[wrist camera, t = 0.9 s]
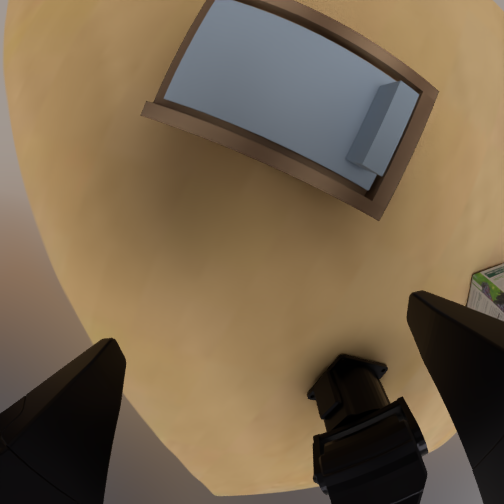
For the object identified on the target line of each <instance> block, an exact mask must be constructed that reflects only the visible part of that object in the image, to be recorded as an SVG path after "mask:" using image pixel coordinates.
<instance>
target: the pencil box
mask: <svg viewBox="0 0 504 504" xmlns="http://www.w3.org/2000/svg"><path fill="white" fill-rule="evenodd" d="M214 1H215V0H206V2H205V3H204V5H203V7H202V8H201V10H200V12H199V13H198V15H197V17H196V18H195V20H194V22H193V23H192V25H191V27H190V29H189V31H188V32H187V34H186V36H185V38H184V40H183V42H182V43H181V45H180V47H179V49H178V51H177V53H176V55H175V57H174V59H173V61H172V63H171V65H170V67H169V69H168V71H167V73H166V75H165V78H164V80H163V82H162V84H161V86H160V88H159V91H158V93H157V95H156V98H155V100H154V102H153V103H151V102H148V101H146V103H145V105H144V108H143V110H142V113H141V116H144V117H147V118H150V119H153V120H156V121H159V122H161V123H164V124H167V125H170V126H173V127H176V128H178V129H181V130H184V131H186V132H189V133H192V134H194V135H197V136H200V137H202V138H205V139H207V140H210V141H213V142H215V143H218V144H220V145H222V146H225V147H227V148H230V149H232V150H235V151H237V152H239V153H242V154H244V155H246V156H249V157H251V158H253V159H256V160H258V161H260V162H262V163H265V164H267V165H269V166H271V167H274V168H276V169H278V170H280V171H282V172H284V173H287V174H289V175H291V176H293V177H295V178H297V179H299V180H301V181H303V182H305V183H307V184H310V185H312V186H314V187H316V188H318V189H320V190H322V191H324V192H326V193H328V194H329V195H331V196H333V197H335V198H337V199H339V200H341V201H343V202H345V203H347V204H349V205H351V206H352V207H354V208H356V209H358V210H360V211H362V212H363V213H365V214H367V215H369V216H371V217H373V218H374V219H376V220H378V221H379V220H380V219H381V217H382V215H383V213H384V211H385V209H386V207H387V205H388V203H389V202H390V200H391V198H392V196H393V194H394V192H395V190H396V188H397V186H398V184H399V182H400V180H401V178H402V176H403V174H404V172H405V170H406V167H407V165H408V163H409V161H410V159H411V157H412V155H413V152H414V150H415V148H416V146H417V144H418V141H419V139H420V137H421V134H422V132H423V130H424V128H425V125H426V123H427V120H428V118H429V116H430V113H431V111H432V108H433V106H434V103H435V100H436V98H437V95H438V93H439V91H438V90H437V89H436V88H435V87H433V86H432V85H431V84H430V83H429V82H427V81H426V80H425V79H424V78H423V77H421V76H420V75H419V74H418V73H416V72H415V71H414V70H412V69H411V68H410V67H408V66H407V65H406V64H404V63H403V62H402V61H400V60H399V59H398V58H396V57H395V56H393V55H392V54H390V53H389V52H388V51H386V50H385V49H383V48H382V47H380V46H379V45H377V44H375V43H374V42H372V41H371V40H369V39H367V38H366V37H364V36H363V35H361V34H359V33H358V32H356V31H354V30H352V29H351V28H349V27H347V26H345V25H343V24H342V23H340V22H338V21H336V20H334V19H332V18H330V17H328V16H326V15H324V14H322V13H320V12H318V11H316V10H314V9H312V8H310V7H307V6H305V5H303V4H301V3H298V2H296V1H294V0H234V1H237V2H240V3H243V4H246V5H249V6H252V7H255V8H258V9H260V10H263V11H266V12H268V13H271V14H274V15H276V16H279V17H281V18H283V19H286V20H288V21H291V22H293V23H295V24H297V25H300V26H302V27H304V28H306V29H308V30H310V31H312V32H314V33H317V34H319V35H321V36H323V37H324V38H326V39H328V40H330V41H332V42H334V43H336V44H338V45H339V46H341V47H343V48H345V49H347V50H348V51H350V52H352V53H354V54H355V55H357V56H359V57H360V58H362V59H363V60H365V61H367V62H368V63H370V64H371V65H373V66H375V67H376V68H378V69H379V70H381V71H382V72H384V73H385V74H387V75H388V76H389V77H391V78H392V79H394V80H395V81H402V82H404V83H405V84H406V85H408V86H409V87H410V88H412V89H413V90H414V91H415V92H417V93H418V94H419V97H418V99H417V101H416V104H415V106H414V109H413V111H412V113H411V116H410V118H409V120H408V123H407V125H406V127H405V129H404V132H403V134H402V136H401V138H400V140H399V143H398V145H397V147H396V149H395V151H394V153H393V155H392V157H391V160H390V162H389V164H388V166H387V168H386V170H385V172H384V174H383V176H380V175H376V177H375V179H374V181H373V183H372V185H371V187H370V189H369V191H368V190H366V189H364V188H362V187H361V186H359V185H357V184H355V183H353V182H352V181H350V180H348V179H346V178H344V177H343V176H341V175H339V174H337V173H335V172H333V171H332V170H330V169H328V168H326V167H324V166H322V165H320V164H318V163H316V162H314V161H312V160H310V159H308V158H306V157H304V156H302V155H300V154H298V153H296V152H294V151H292V150H290V149H288V148H286V147H284V146H281V145H279V144H277V143H275V142H273V141H271V140H268V139H266V138H264V137H262V136H259V135H257V134H255V133H253V132H250V131H248V130H246V129H243V128H241V127H238V126H236V125H234V124H231V123H229V122H226V121H224V120H221V119H219V118H216V117H213V116H211V115H208V114H206V113H203V112H200V111H197V110H195V109H192V108H189V107H186V106H183V105H181V104H178V103H175V102H172V101H169V100H166V99H164V96H165V94H166V92H167V89H168V87H169V85H170V83H171V81H172V79H173V76H174V74H175V72H176V70H177V68H178V66H179V64H180V62H181V60H182V58H183V56H184V54H185V52H186V50H187V48H188V46H189V45H190V43H191V41H192V39H193V37H194V35H195V34H196V32H197V30H198V28H199V26H200V25H201V23H202V21H203V20H204V18H205V16H206V14H207V13H208V11H209V9H210V8H211V6H212V5H213V3H214Z"/></svg>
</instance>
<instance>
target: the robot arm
mask: <svg viewBox="0 0 504 504" xmlns="http://www.w3.org/2000/svg"><path fill="white" fill-rule="evenodd" d="M407 322H408V325H409V327H410V330H411V332H412V334H413V337H414V339H415V342H416V344H417V347H418V349H419V352H420V354H421V357H422V359H423V361H424V363H425V365H426V367H427V369H428V371H429V373H430V375H431V377H432V379H433V381H434V383H435V385H436V387H437V389H438V391H439V393H440V395H441V397H442V399H443V401H444V404H445V406H446V408H447V410H448V412H449V414H450V417H451V419H452V421H453V423H454V426H455V428H456V430H457V432H458V435H459V437H460V440H461V442H462V444H463V447H464V449H465V452H466V454H467V457H468V459H469V462H470V465H471V467H472V469H473V470H472V471H473V474H474V476H475V479H476V482H477V484H478V488H479V491H480V494H481V497H482V500H483V503H484V504H504V321H502V320H499V319H497V318H494V317H492V316H489V315H487V314H484V313H481V312H479V311H476V310H474V309H471V308H468V307H466V306H463V305H461V304H458V303H455V302H453V301H450V300H447V299H445V298H442V297H439V296H437V295H434V294H431V293H429V292H426V291H423V290H421V291H417V292H413V293H411V294H410V296H409V302H408V310H407ZM342 359H343V360H342ZM125 369H126V359H125V356H124V355H123V353H122V351H121V349H120V347H119V345H118V343H117V341H116V340H115V339H113V338H105V339H101V340H100V341H99V342H97V343H96V344H94V345H93V346H92V347H90V348H89V349H88V350H86V351H85V352H83V353H82V354H81V355H79V356H78V357H77V358H75V359H74V360H72V361H71V362H70V363H68V364H67V365H66V366H64V367H63V368H62V369H60V370H59V371H58V372H56V373H55V374H53V375H52V376H51V377H49V378H48V379H47V380H45V381H44V382H43V383H41V384H40V385H39V386H37V387H36V388H35V389H33V390H32V391H31V392H29V393H28V394H27V395H26V396H24V397H23V398H21V399H20V400H18V401H17V402H16V403H14V404H13V405H12V406H10V407H9V408H8V409H6V410H5V411H3V412H1V413H0V504H103V501H104V493H105V487H106V480H107V473H108V467H109V461H110V456H111V450H112V444H113V440H114V434H115V429H116V424H117V420H118V415H119V411H120V406H121V400H122V392H123V384H124V376H125ZM387 370H388V368H387V366H386V365H385V364H381V363H376V362H372V361H368V360H364V359H360V358H356V357H352V356H349V355H344V354H343V355H340V356H338V357H337V359H336V360H335V361H334V362H333V364H332V365H331V366H330V367H329V369H328V370H327V371H326V372H325V373H324V375H323V376H322V377H321V378H320V379H319V381H318V382H317V383H316V384H315V385H314V386H313V388H312V389H311V390H310V391H309V392H308V393H307V397H308V399H311V400H316V402H317V406H318V410H319V414H320V418H321V419H323V420H324V423H325V427H326V431H327V432H325V433H323V434H318V435H315V436H313V440H314V443H313V466H314V474H313V480H314V482H315V483H317V484H319V486H320V488H321V490H322V491H323V492H324V493H325V494H326V495H329V497H330V500H331V504H420V500H421V497H422V493H423V490H424V486H425V482H426V479H427V471H426V468H425V465H424V462H423V460H422V456H424V455H426V454H428V449H427V445H426V442H425V440H424V437H423V435H422V432H421V430H420V428H419V426H418V424H417V422H416V420H415V418H414V416H413V414H412V413H411V411H410V409H409V407H408V405H407V403H406V402H405V400H404V398H403V396H402V397H400V398H398V399H397V400H396V401H394V402H392V403H391V404H390V401H389V399H388V397H387V395H386V393H385V390H384V388H383V386H382V384H381V382H380V380H379V379H380V378H381V377H382V376H383V375H384V374H385V373H386V371H387Z"/></svg>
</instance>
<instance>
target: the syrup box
mask: <svg viewBox="0 0 504 504" xmlns="http://www.w3.org/2000/svg"><path fill="white" fill-rule="evenodd" d="M467 307H468V308H471V309H474V310H476V311H479V312H481V313H484V314H487V315H489V316H492V317H494V318H497V319H499V320H502V321H504V263H502V264H501V265H499V266H495V267H493V268H490V269H487V270H485V271H482V272H479V273H477V274H474V275H473V277H472V282H471V288H470V293H469V298H468V303H467Z"/></svg>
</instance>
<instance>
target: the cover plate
mask: <svg viewBox="0 0 504 504" xmlns="http://www.w3.org/2000/svg"><path fill="white" fill-rule="evenodd" d="M418 97H419V94H418V93H417V92H415V91H414V90H413V89H412V88H410V87H409V86H408V85H406V84H405V83H404V82H402V81H395V80H394V79H392V78H391V77H389V76H388V75H387V74H385V73H384V72H382V71H381V70H379V69H378V68H376V67H375V66H373V65H371V64H370V63H368V62H367V61H365V60H363V59H362V58H360V57H359V56H357V55H355V54H354V53H352V52H350V51H348V50H347V49H345V48H343V47H341V46H339V45H338V44H336V43H334V42H332V41H330V40H328V39H326V38H324V37H323V36H321V35H319V34H317V33H314V32H312V31H310V30H308V29H306V28H304V27H302V26H300V25H297V24H295V23H293V22H291V21H288V20H286V19H283V18H281V17H279V16H276V15H274V14H271V13H268V12H266V11H263V10H260V9H258V8H255V7H252V6H249V5H246V4H243V3H240V2H237V1H234V0H215V1H214V3H213V5H212V6H211V8H210V9H209V11H208V13H207V14H206V16H205V18H204V20H203V21H202V23H201V25H200V26H199V28H198V30H197V32H196V34H195V35H194V37H193V39H192V41H191V43H190V45H189V46H188V48H187V50H186V52H185V54H184V56H183V58H182V60H181V62H180V64H179V66H178V68H177V70H176V72H175V74H174V76H173V79H172V81H171V83H170V85H169V87H168V89H167V92H166V94H165V96H164V99H166V100H169V101H172V102H175V103H178V104H181V105H183V106H186V107H189V108H192V109H195V110H197V111H200V112H203V113H206V114H208V115H211V116H213V117H216V118H219V119H221V120H224V121H226V122H229V123H231V124H234V125H236V126H238V127H241V128H243V129H246V130H248V131H250V132H253V133H255V134H257V135H259V136H262V137H264V138H266V139H268V140H271V141H273V142H275V143H277V144H279V145H281V146H284V147H286V148H288V149H290V150H292V151H294V152H296V153H298V154H300V155H302V156H304V157H306V158H308V159H310V160H312V161H314V162H316V163H318V164H320V165H322V166H324V167H326V168H328V169H330V170H332V171H333V172H335V173H337V174H339V175H341V176H343V177H344V178H346V179H348V180H350V181H352V182H353V183H355V184H357V185H359V186H361V187H362V188H364V189H366V190H368V191H369V189H370V187H371V185H372V183H373V181H374V179H375V177H376V175H380V176H383V174H384V172H385V170H386V168H387V166H388V164H389V162H390V160H391V157H392V155H393V153H394V151H395V149H396V147H397V145H398V143H399V140H400V138H401V136H402V134H403V132H404V129H405V127H406V125H407V123H408V120H409V118H410V116H411V113H412V111H413V109H414V106H415V104H416V101H417V99H418Z"/></svg>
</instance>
